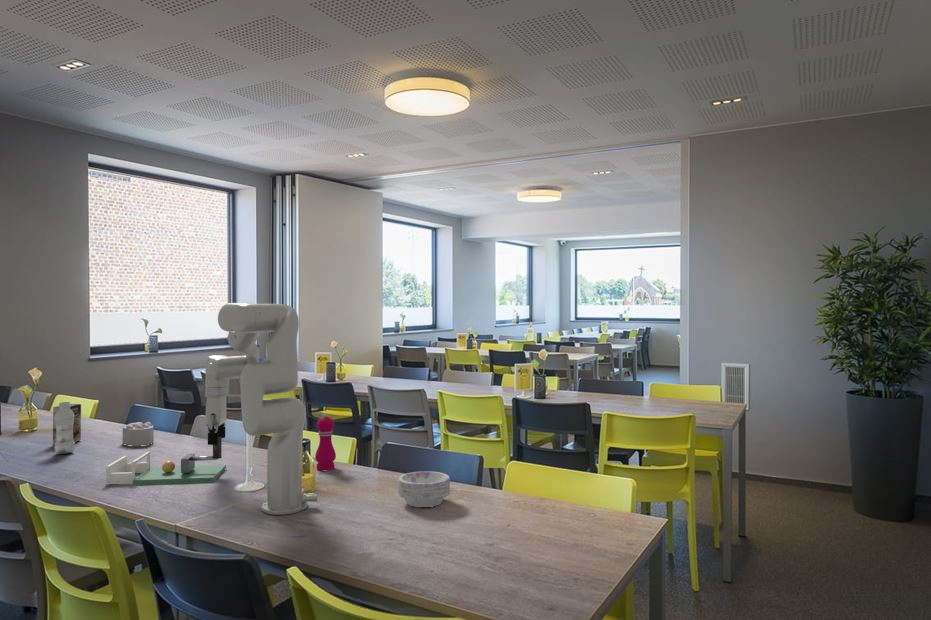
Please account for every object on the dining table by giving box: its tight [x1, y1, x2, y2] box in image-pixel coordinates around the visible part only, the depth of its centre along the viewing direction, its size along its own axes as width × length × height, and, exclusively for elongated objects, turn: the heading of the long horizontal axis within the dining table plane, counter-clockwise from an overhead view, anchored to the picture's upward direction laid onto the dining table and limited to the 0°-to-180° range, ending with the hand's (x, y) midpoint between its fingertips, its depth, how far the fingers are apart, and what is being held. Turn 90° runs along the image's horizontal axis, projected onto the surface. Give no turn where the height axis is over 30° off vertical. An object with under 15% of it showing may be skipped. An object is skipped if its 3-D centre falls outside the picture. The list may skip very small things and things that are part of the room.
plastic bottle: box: [54, 401, 76, 455], centre depth 237 cm, size 6×7×20 cm
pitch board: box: [132, 464, 227, 486], centre depth 206 cm, size 25×16×2 cm, turn 98°
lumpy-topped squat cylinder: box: [122, 421, 155, 447], centre depth 255 cm, size 10×13×9 cm
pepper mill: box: [314, 412, 337, 472], centre depth 216 cm, size 7×7×20 cm
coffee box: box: [52, 403, 82, 446], centre depth 255 cm, size 9×6×16 cm
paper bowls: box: [397, 470, 451, 508], centre depth 178 cm, size 15×15×8 cm
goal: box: [105, 451, 151, 486], centre depth 203 cm, size 9×14×7 cm, turn 8°
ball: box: [161, 460, 176, 473], centre depth 205 cm, size 4×4×4 cm
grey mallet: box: [180, 437, 223, 473], centre depth 207 cm, size 12×7×11 cm, turn 98°
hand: (216, 441), depth 208 cm, fingers open, 9 cm apart
